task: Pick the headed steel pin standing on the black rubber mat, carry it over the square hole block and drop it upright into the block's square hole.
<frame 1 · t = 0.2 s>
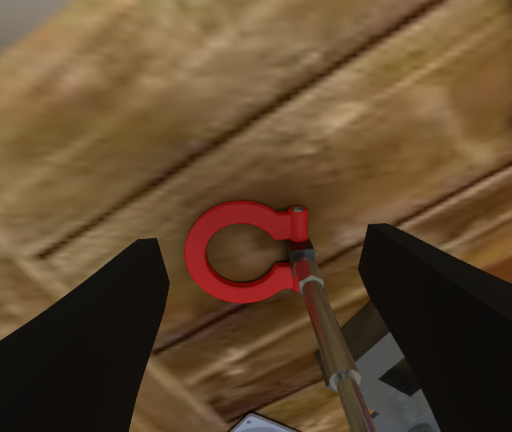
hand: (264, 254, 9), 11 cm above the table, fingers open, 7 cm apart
mat: (417, 427, 31), on the table
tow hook: (247, 249, 21), on the table
square hole block: (390, 340, 25), on the table
pin: (419, 431, 31), resting on mat
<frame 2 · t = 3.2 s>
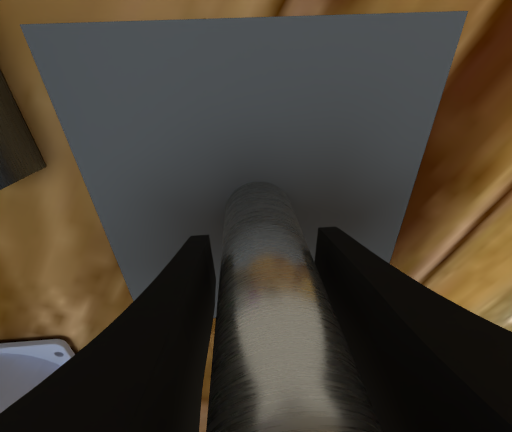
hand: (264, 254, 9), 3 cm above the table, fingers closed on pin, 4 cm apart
mat: (257, 208, 12), on the table
pin: (258, 212, 11), resting on mat, touching gripper
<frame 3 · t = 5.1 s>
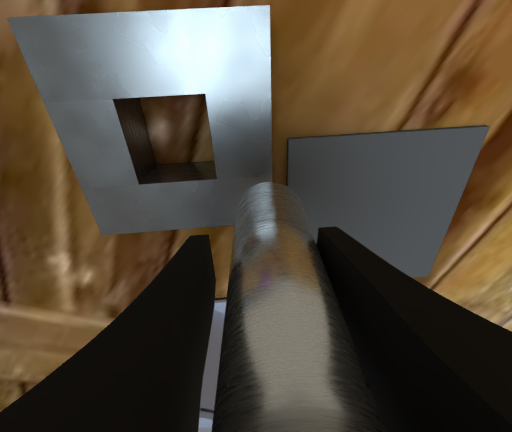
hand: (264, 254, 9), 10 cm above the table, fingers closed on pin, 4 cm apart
mat: (369, 217, 21), on the table
square hole block: (182, 129, 16), on the table
pin: (269, 212, 11), point 7 cm above the table, touching gripper
when the fingers open (5 cm above the table, at t = 6.9 s): pin drops 2 cm, resting in square hole block.
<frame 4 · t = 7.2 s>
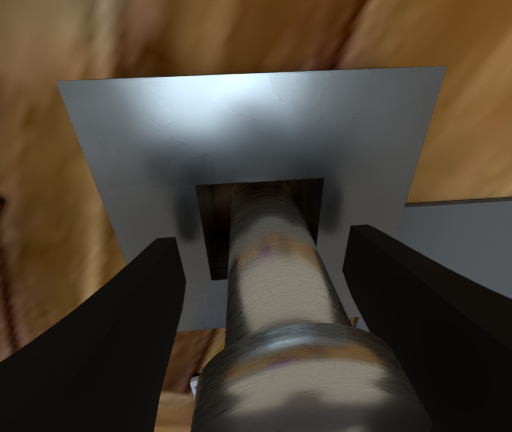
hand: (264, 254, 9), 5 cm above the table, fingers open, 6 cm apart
mat: (459, 287, 17), on the table
square hole block: (255, 196, 13), on the table
pin: (260, 196, 13), resting in square hole block
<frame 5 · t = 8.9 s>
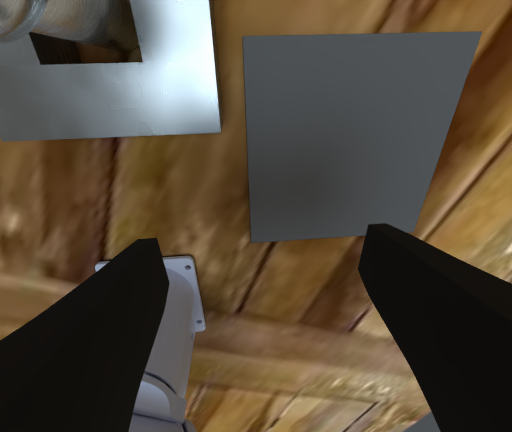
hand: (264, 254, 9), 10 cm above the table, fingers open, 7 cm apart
mat: (344, 154, 18), on the table
square hole block: (110, 16, 13), on the table
pin: (115, 17, 13), resting in square hole block
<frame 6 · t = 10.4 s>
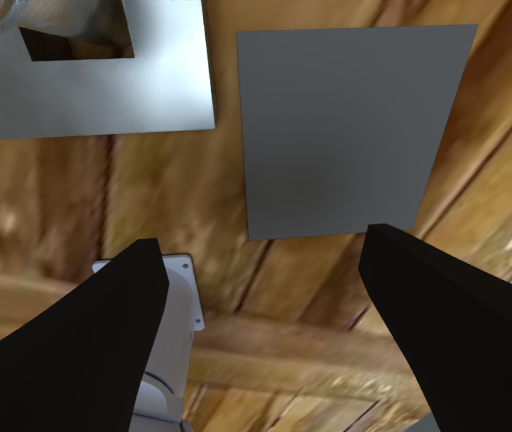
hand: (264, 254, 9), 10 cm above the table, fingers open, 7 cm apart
mat: (341, 150, 18), on the table
square hole block: (102, 13, 13), on the table
pin: (108, 14, 13), resting in square hole block
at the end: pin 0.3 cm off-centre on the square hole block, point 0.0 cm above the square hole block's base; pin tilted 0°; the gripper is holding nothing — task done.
